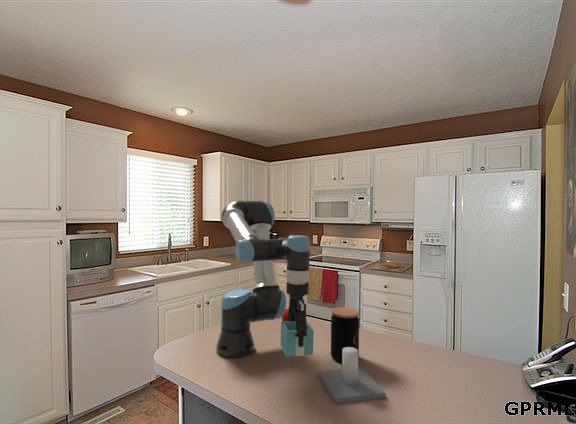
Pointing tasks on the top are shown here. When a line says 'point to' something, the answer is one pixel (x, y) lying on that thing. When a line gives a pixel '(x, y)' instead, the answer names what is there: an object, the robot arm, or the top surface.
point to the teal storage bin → (290, 340)
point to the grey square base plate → (350, 380)
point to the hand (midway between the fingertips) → (296, 348)
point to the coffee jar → (344, 331)
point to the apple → (285, 315)
